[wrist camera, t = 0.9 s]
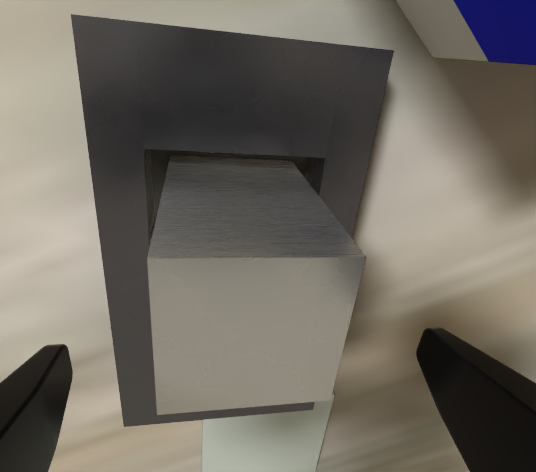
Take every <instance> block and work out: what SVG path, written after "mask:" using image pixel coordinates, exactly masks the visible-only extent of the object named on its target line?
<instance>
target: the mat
mask: <svg viewBox="0 0 536 472" xmlns="http://www.w3.org/2000/svg"><path fill="white" fill-rule="evenodd" d="M334 396H335V395H334V393H333V392H332V396H331V400H329V401H317V402H315V404H314V408H313V410H306V411H295V412H284V413H272V414H261V415H250V416H239V417H227V418H216V419H205V420H203V436H202V472H315V469H316V466H317V462H318V458H319V454H320V450H321V446H322V442H323V438H324V434H325V431H326V427H327V423H328V419H329V415H330V411H331V407H332V403H333V399H334Z"/></svg>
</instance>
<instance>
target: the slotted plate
mask: <svg viewBox="0 0 536 472" xmlns="http://www.w3.org/2000/svg"><path fill="white" fill-rule="evenodd" d="M71 19H72V27H73V34H74V42H75V50H76V58H77V66H78V73H79V81H80V89H81V97H82V104H83V112H84V120H85V128H86V136H87V143H88V151H89V159H90V167H91V174H92V182H93V190H94V198H95V206H96V213H97V221H98V229H99V237H100V244H101V252H102V260H103V268H104V276H105V283H106V291H107V299H108V307H109V314H110V322H111V330H112V338H113V346H114V353H115V361H116V369H117V377H118V384H119V392H120V400H121V408H122V416H123V423H124V427H126V426H138V425H149V424H160V423H171V422H182V421H194V420H205V419H216V418H227V417H239V416H250V415H261V414H272V413H284V412H295V411H306V410H313V408H314V404H315V402H306V403H294V404H282V405H270V406H258V407H246V408H234V409H223V410H211V411H199V412H187V413H175V414H163V415H157V405H156V390H155V374H154V358H153V343H152V327H151V311H150V296H149V280H148V264H147V257H148V252H149V248H150V244H151V239H152V235H153V230H154V206H153V186H152V167H151V149H155V150H176V151H196V152H217V153H237V154H257V155H278V156H298V157H309V163H308V170H307V177H306V180H307V181H308V183H309V184H310V185H311V187H312V188H313V189H314V190H315V192H316V193H317V194H318V196H319V197H320V198H321V199H322V201H323V202H324V203H325V205H326V206H327V207H328V208H329V210H330V211H331V212H332V214H333V215H334V216H335V217H336V219H337V220H338V221H339V223H340V224H341V225H342V226H343V228H344V229H345V230H346V232H347V233H348V234H349V236H350V237H351V238H352V235H353V230H354V226H355V221H356V217H357V212H358V208H359V204H360V199H361V195H362V190H363V186H364V181H365V177H366V172H367V168H368V164H369V159H370V155H371V150H372V146H373V141H374V137H375V132H376V128H377V123H378V119H379V115H380V110H381V106H382V101H383V97H384V92H385V88H386V83H387V79H388V74H389V70H390V66H391V61H392V57H393V52H394V51H393V50H384V49H375V48H366V47H357V46H348V45H339V44H330V43H321V42H312V41H304V40H295V39H286V38H277V37H268V36H259V35H250V34H241V33H232V32H223V31H214V30H206V29H197V28H188V27H179V26H170V25H161V24H152V23H143V22H134V21H125V20H117V19H108V18H99V17H90V16H81V15H72V14H71Z"/></svg>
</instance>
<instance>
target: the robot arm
mask: <svg viewBox="0 0 536 472" xmlns="http://www.w3.org/2000/svg"><path fill="white" fill-rule="evenodd" d="M416 355H417V360H418V362H419V365H420V367H421V370H422V372H423V374H424V377H425V379H426V382H427V384H428V387H429V389H430V392H431V394H432V397H433V399H434V402H435V404H436V406H437V408H438V411H439V413H440V415H441V417H442V419H443V421H444V423H445V425H446V427H447V429H448V431H449V433H450V434H451V436H452V438H453V440H454V442H455V444H456V446H457V448H458V450H459V452H460V454H461V456H462V458H463V459H464V461H465V463H466V465H467V467H468V469H469V471H470V472H536V383H535V382H533V381H531V380H529V379H528V378H526V377H524V376H523V375H521V374H519V373H518V372H516V371H514V370H512V369H511V368H509V367H507V366H506V365H504V364H502V363H501V362H499V361H497V360H495V359H494V358H492V357H490V356H489V355H487V354H485V353H484V352H482V351H480V350H478V349H477V348H475V347H473V346H472V345H470V344H468V343H467V342H465V341H463V340H461V339H460V338H458V337H456V336H455V335H453V334H451V333H450V332H448V331H446V330H444V329H443V328H439V327H436V328H426V329H425V330H424V332H423V334H422V337H421V339H420V342H419V345H418V348H417V352H416ZM71 382H72V366H71V361H70V356H69V351H68V348H67V346H66V345H64V344H57V345H46V346H44V347H43V348H42V349H40V350H39V351H38V352H37V353H36V354H34V355H33V356H32V357H31V358H30V359H28V360H27V361H26V362H25V363H24V364H22V365H21V366H20V367H19V368H18V369H16V370H15V371H14V372H13V373H12V374H10V375H9V376H8V377H7V378H6V379H4V380H3V381H2V382H1V383H0V472H48V470H49V467H50V464H51V461H52V458H53V455H54V452H55V449H56V446H57V442H58V438H59V433H60V429H61V425H62V421H63V416H64V412H65V408H66V403H67V399H68V395H69V390H70V386H71Z"/></svg>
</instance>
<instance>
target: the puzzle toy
mask: <svg viewBox="0 0 536 472" xmlns="http://www.w3.org/2000/svg"><path fill="white" fill-rule="evenodd" d="M395 1H396V2H397V4H398V5H399V7H400V8H401V10H402V11H403V13H404V14H405V16H406V17H407V19H408V20H409V22H410V23H411V25H412V27H413V28H414V30H415V31H416V33H417V34H418V36H419V37H420V39H421V40H422V42H423V43H424V45H425V46H426V48H427V49H428V51H429V52H430V54H431V55H432V57H437V58H450V59H463V60H475V61H488V62H501V63H514V64H527V65H536V0H395Z"/></svg>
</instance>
